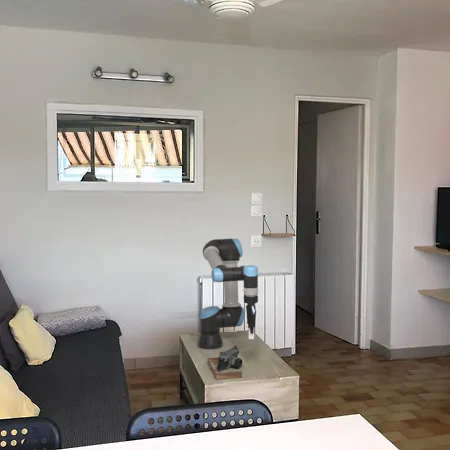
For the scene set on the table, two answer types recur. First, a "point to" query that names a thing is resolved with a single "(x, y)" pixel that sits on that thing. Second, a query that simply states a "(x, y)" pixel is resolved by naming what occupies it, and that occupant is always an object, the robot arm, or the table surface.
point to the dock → (222, 375)
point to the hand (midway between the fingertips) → (251, 338)
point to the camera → (229, 359)
